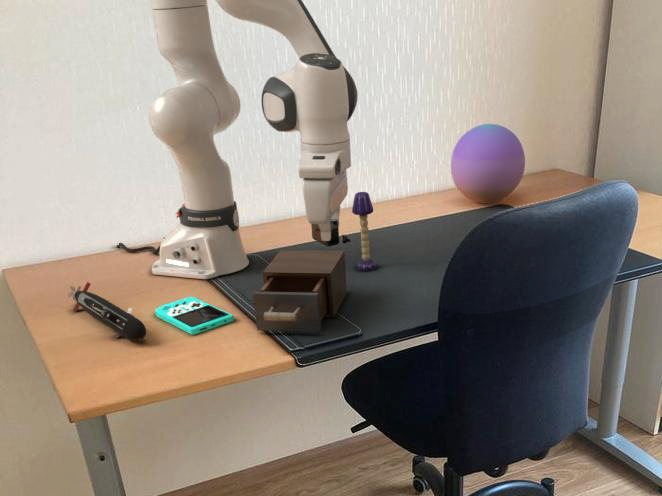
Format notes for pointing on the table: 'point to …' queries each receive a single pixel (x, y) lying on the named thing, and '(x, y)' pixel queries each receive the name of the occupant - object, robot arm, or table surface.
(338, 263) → the cabinet
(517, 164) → the ball
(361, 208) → the toy lamp
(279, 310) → the drawer
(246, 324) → the table surface
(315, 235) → the wireless earbuds
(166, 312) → the handheld game console
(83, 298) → the submarine model
